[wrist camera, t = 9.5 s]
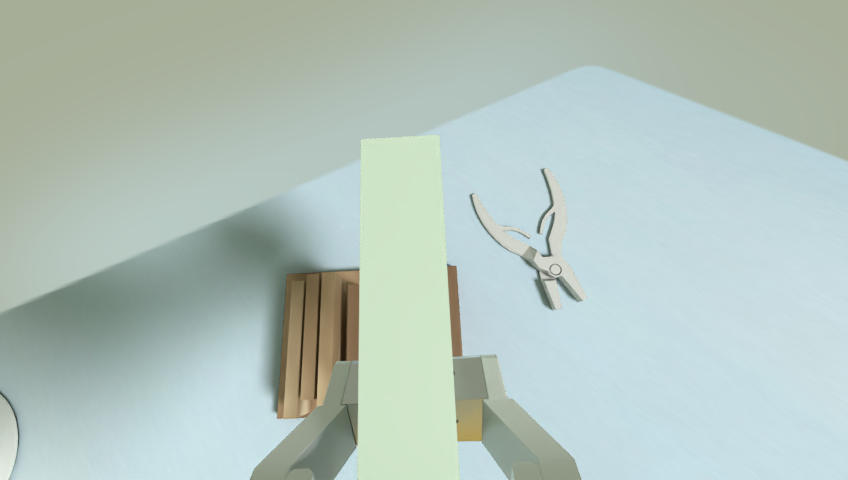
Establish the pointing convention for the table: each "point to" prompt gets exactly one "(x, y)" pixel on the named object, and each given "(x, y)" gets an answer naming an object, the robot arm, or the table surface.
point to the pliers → (545, 265)
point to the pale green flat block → (404, 316)
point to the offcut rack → (328, 335)
